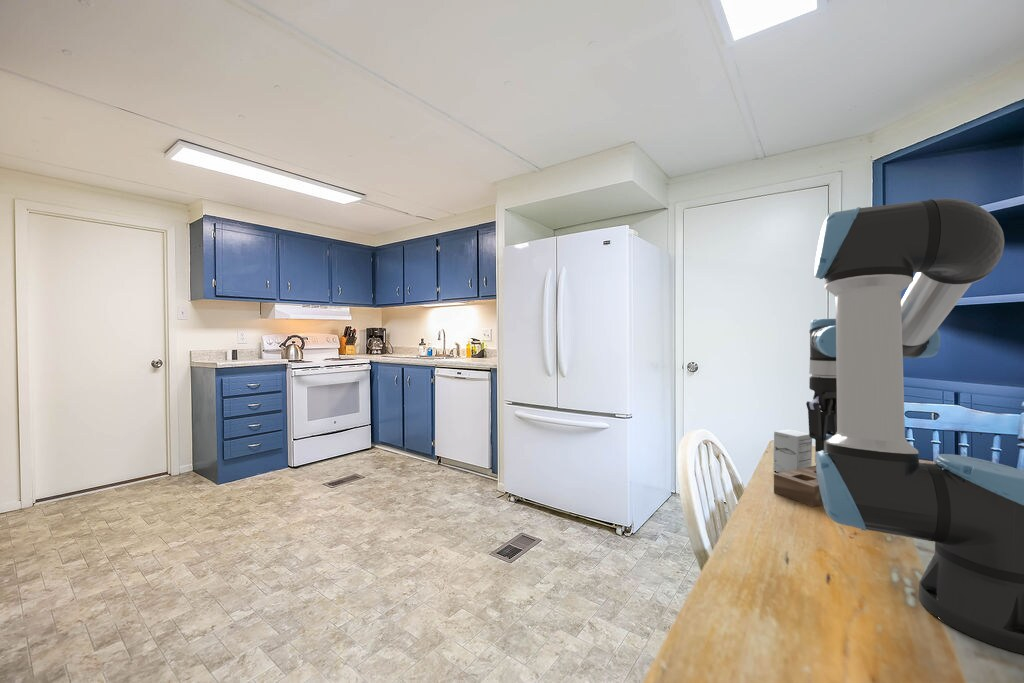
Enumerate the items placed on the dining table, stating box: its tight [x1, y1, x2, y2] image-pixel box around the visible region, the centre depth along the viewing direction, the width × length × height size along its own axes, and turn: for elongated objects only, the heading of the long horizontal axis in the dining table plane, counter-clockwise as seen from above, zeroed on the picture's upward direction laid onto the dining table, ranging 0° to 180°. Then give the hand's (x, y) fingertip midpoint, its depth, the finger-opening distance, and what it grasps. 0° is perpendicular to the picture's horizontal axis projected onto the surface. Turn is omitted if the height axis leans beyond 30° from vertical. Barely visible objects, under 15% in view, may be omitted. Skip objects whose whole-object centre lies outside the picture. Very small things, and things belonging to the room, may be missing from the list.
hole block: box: [773, 465, 823, 508], centre depth 111 cm, size 18×10×5 cm, turn 113°
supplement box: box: [772, 428, 813, 473], centre depth 127 cm, size 7×7×13 cm
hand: (825, 462), depth 112 cm, fingers closed on peg, 3 cm apart
